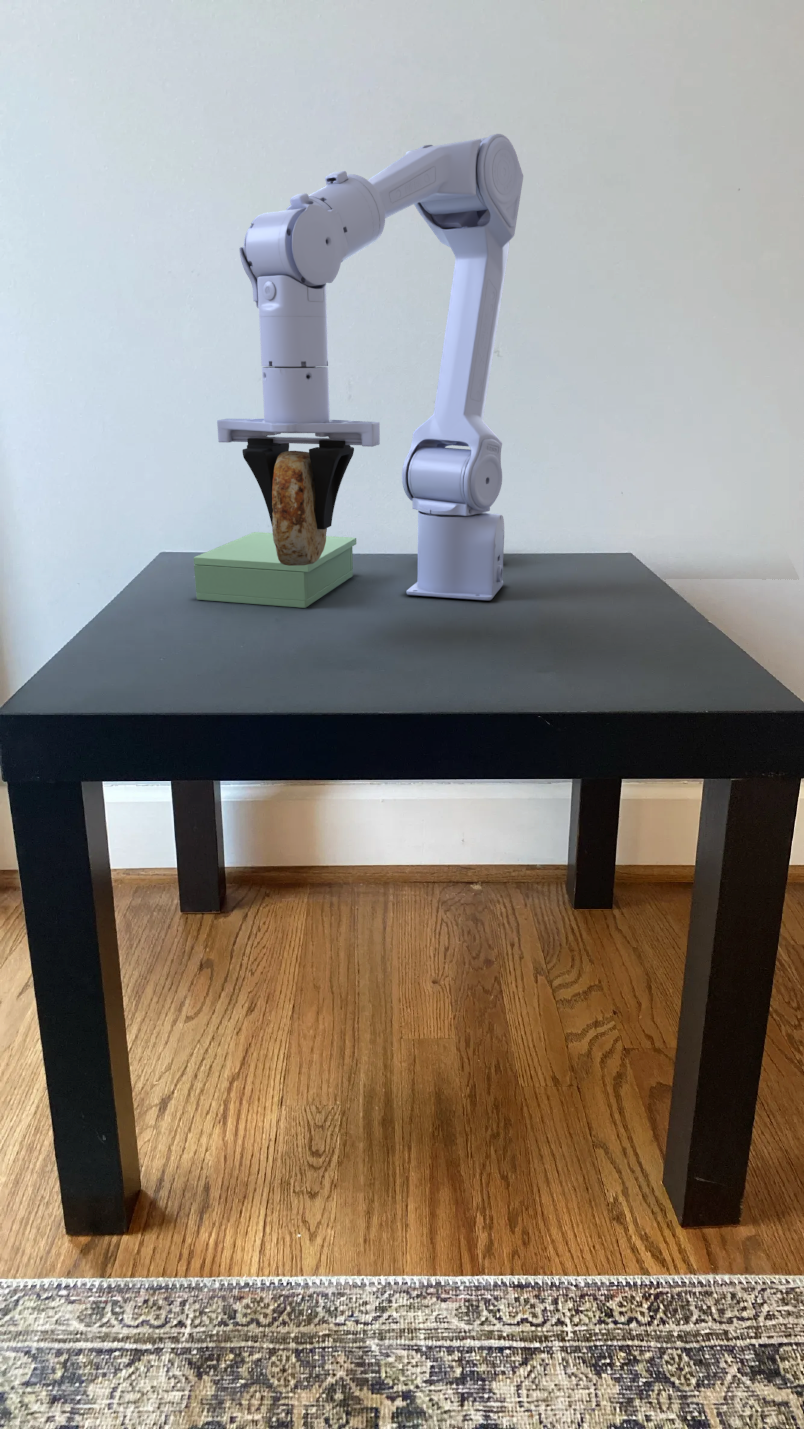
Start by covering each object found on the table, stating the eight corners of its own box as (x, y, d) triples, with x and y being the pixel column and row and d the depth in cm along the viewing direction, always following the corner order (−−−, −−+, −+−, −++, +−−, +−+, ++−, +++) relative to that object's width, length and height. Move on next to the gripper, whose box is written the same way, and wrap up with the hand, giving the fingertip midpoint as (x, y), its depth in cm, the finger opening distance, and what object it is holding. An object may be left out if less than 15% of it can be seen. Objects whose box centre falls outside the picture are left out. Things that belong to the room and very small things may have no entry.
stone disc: (308, 576, 82) (306, 458, 78) (267, 574, 82) (263, 456, 79) (333, 552, 92) (333, 446, 88) (296, 550, 92) (294, 444, 88)
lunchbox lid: (356, 544, 111) (356, 537, 111) (308, 572, 97) (308, 564, 97) (254, 538, 114) (254, 531, 114) (193, 564, 100) (193, 557, 100)
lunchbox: (353, 576, 113) (352, 544, 111) (305, 608, 99) (304, 572, 97) (256, 569, 116) (254, 538, 114) (196, 599, 102) (193, 565, 100)
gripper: (196, 367, 79) (208, 529, 84) (361, 368, 75) (363, 538, 80) (233, 366, 85) (242, 517, 90) (386, 367, 82) (387, 524, 87)
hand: (301, 526), depth 86 cm, fingers closed on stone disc, 4 cm apart
